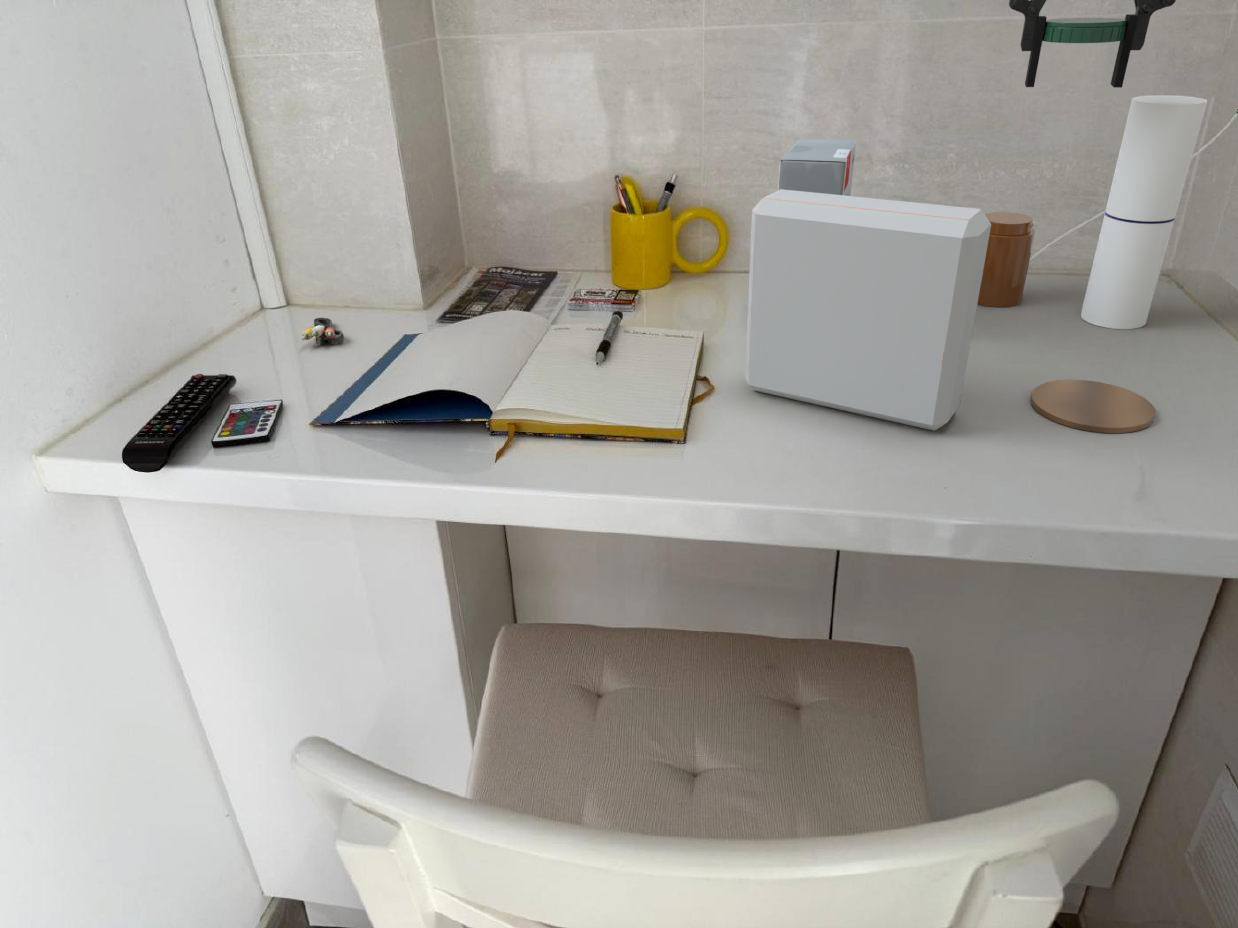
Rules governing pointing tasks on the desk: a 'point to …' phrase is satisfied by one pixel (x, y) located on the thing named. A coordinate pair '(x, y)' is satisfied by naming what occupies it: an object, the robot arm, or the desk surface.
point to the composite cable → (323, 332)
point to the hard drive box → (818, 166)
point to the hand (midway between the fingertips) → (1072, 85)
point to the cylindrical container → (1141, 208)
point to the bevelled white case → (864, 303)
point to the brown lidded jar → (1006, 259)
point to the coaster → (1093, 406)
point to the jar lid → (1084, 30)
